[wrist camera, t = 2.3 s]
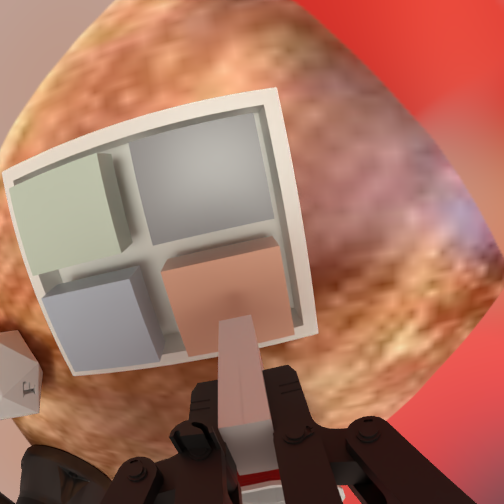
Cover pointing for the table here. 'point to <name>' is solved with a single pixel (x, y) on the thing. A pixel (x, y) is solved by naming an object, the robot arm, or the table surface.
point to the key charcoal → (201, 178)
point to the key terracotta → (228, 292)
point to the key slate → (106, 321)
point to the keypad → (154, 257)
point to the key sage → (71, 214)
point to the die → (18, 377)
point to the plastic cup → (265, 488)
